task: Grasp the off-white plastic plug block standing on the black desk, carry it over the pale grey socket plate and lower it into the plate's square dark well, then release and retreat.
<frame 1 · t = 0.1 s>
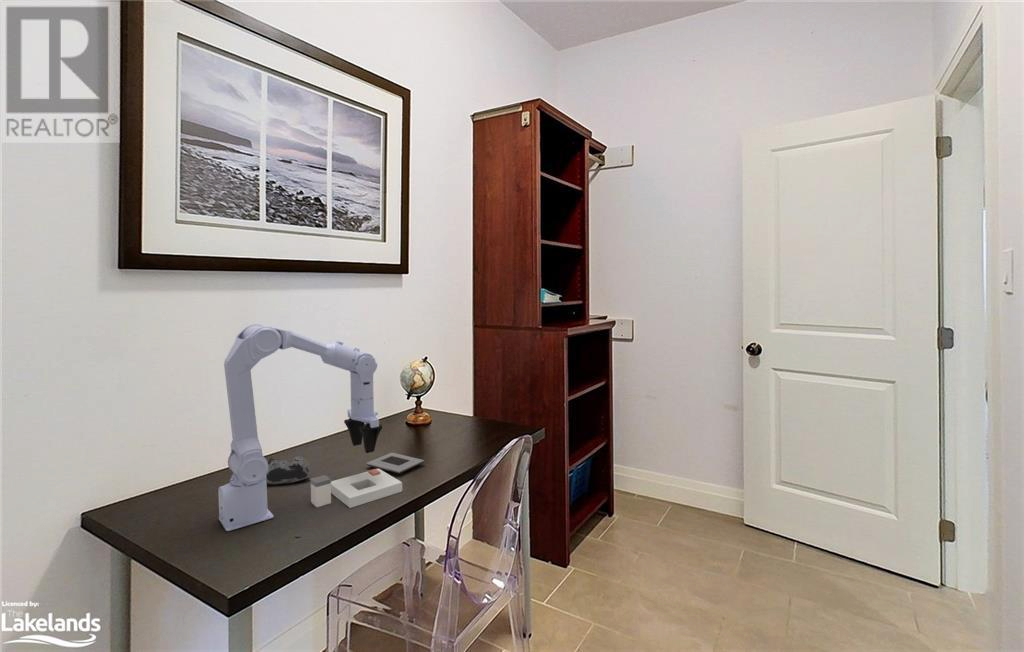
hand: (363, 448, 127), 10 cm above the table, fingers open, 7 cm apart
electrical outlet: (395, 469, 141), on the table
plug: (321, 502, 117), on the table
socket plate: (365, 491, 124), on the table
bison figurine: (288, 479, 132), on the table
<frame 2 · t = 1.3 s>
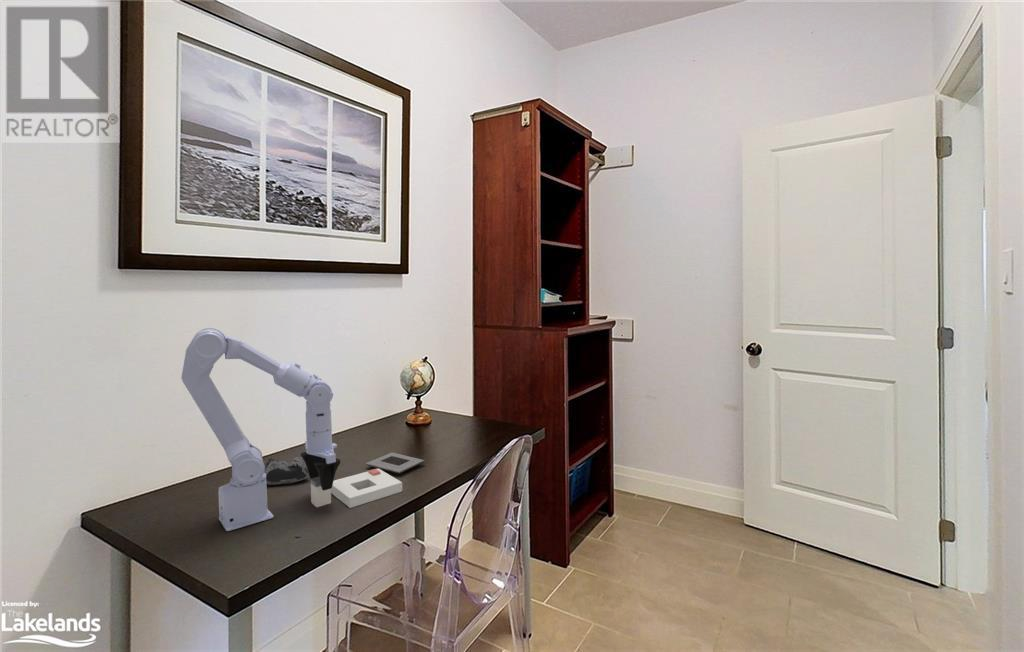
hand: (321, 484, 117), 5 cm above the table, fingers open, 7 cm apart
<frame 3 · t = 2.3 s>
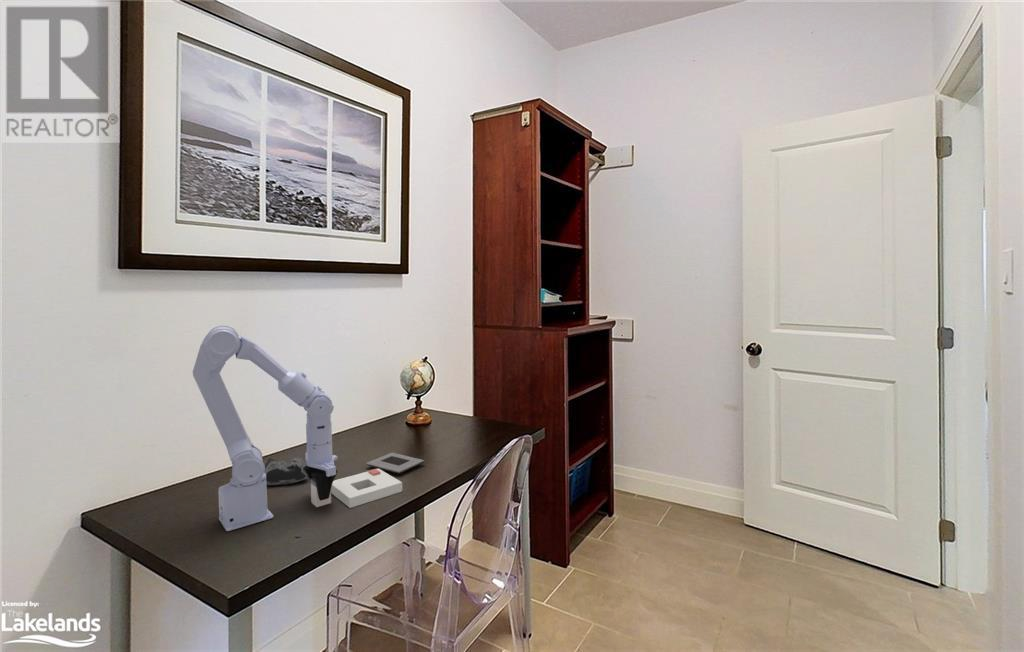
hand: (321, 496, 117), 2 cm above the table, fingers closed on plug, 3 cm apart
plug: (321, 502, 117), on the table, touching gripper
everything else where it was.
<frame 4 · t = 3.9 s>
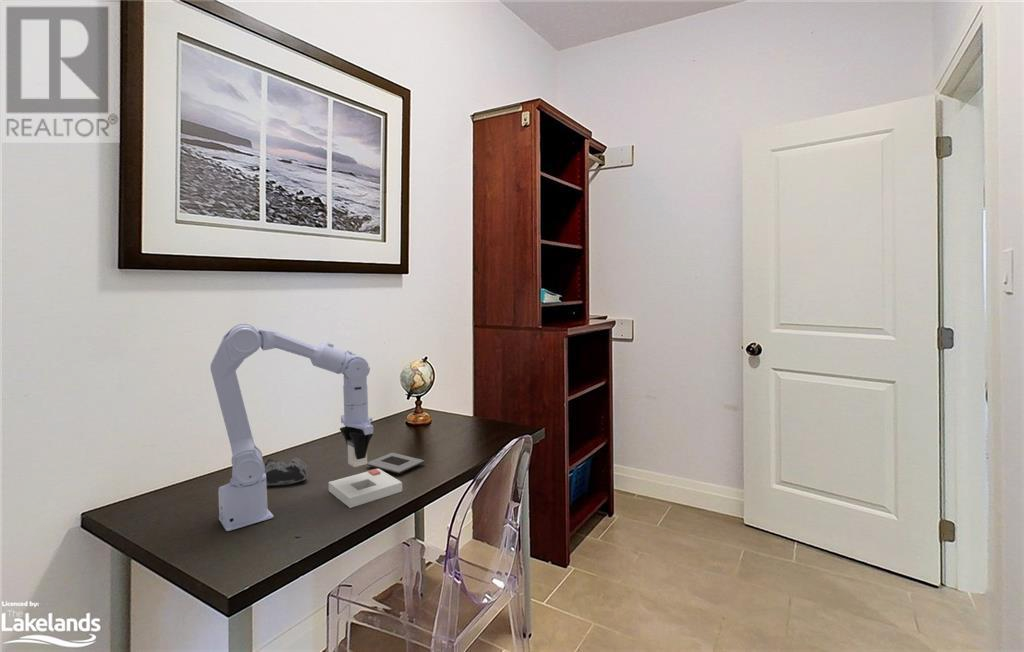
hand: (357, 456, 121), 10 cm above the table, fingers closed on plug, 3 cm apart
plug: (357, 463, 121), point 8 cm above the table, touching gripper
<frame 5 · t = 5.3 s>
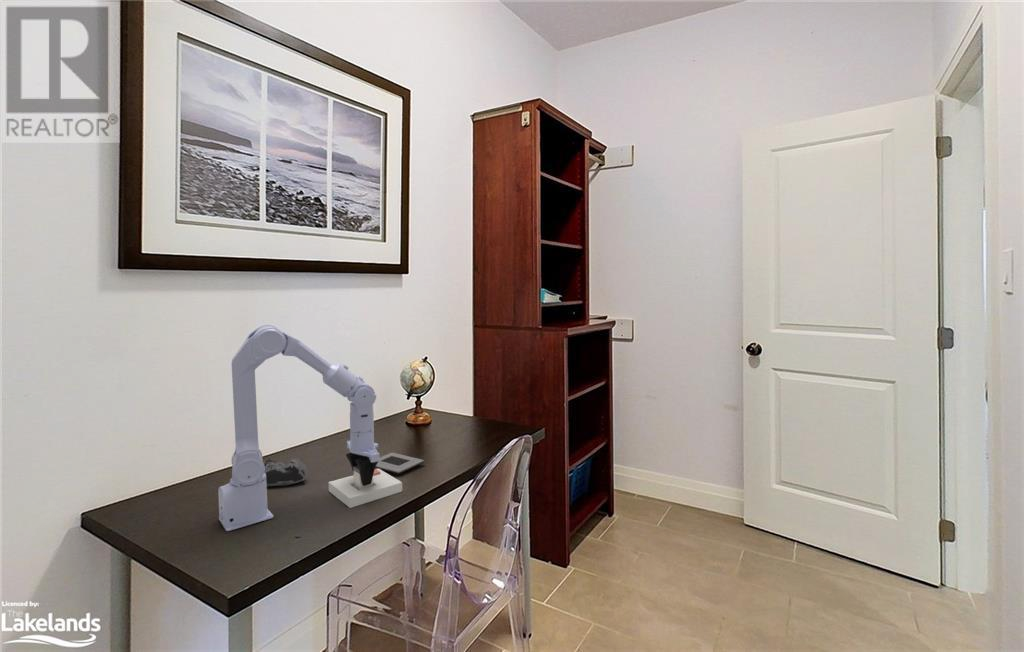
hand: (363, 482, 122), 3 cm above the table, fingers closed on plug, 3 cm apart
plug: (363, 489, 122), point 1 cm above the table, touching gripper
when the fingers open (3 cm above the table, at t = 5.4 s): plug stays where it is, resting on socket plate.
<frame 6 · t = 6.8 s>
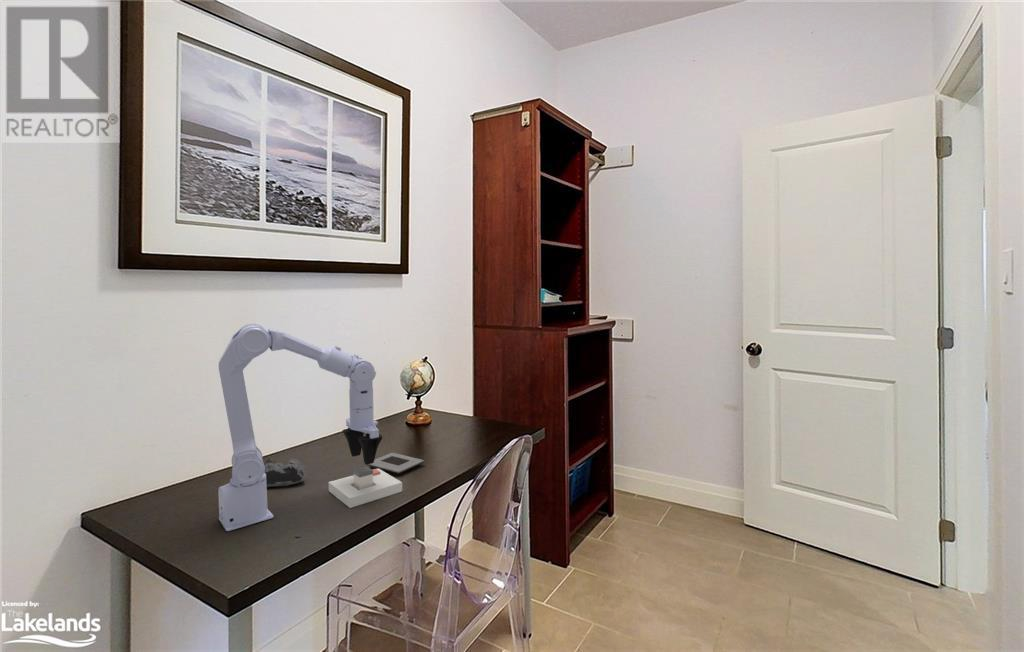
hand: (362, 459, 122), 9 cm above the table, fingers open, 7 cm apart
plug: (363, 492, 122), resting on socket plate
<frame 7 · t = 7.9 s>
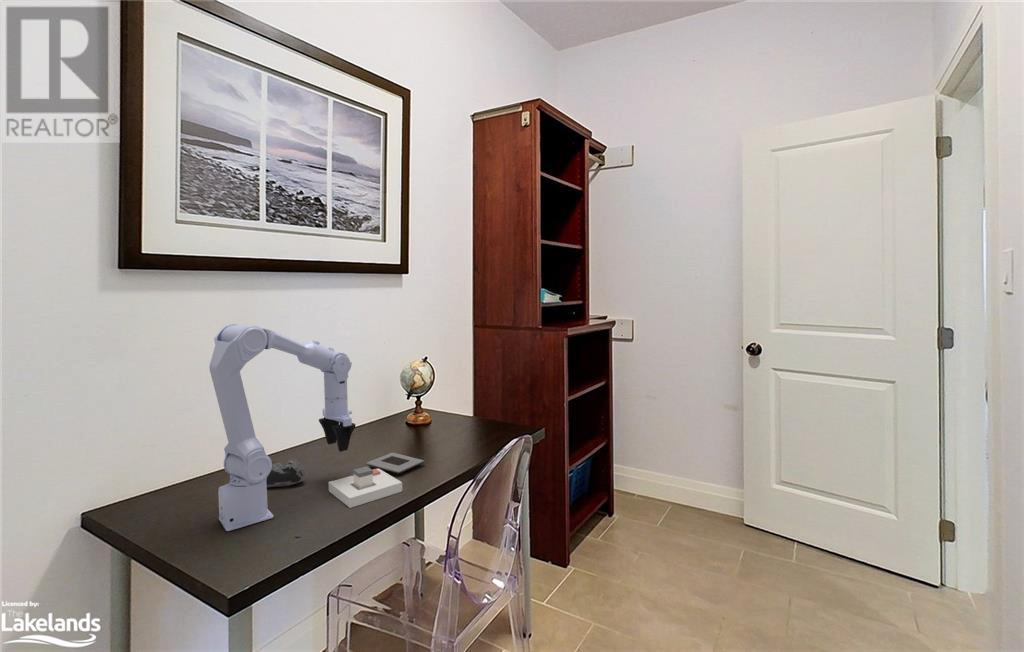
hand: (337, 446, 128), 10 cm above the table, fingers open, 7 cm apart
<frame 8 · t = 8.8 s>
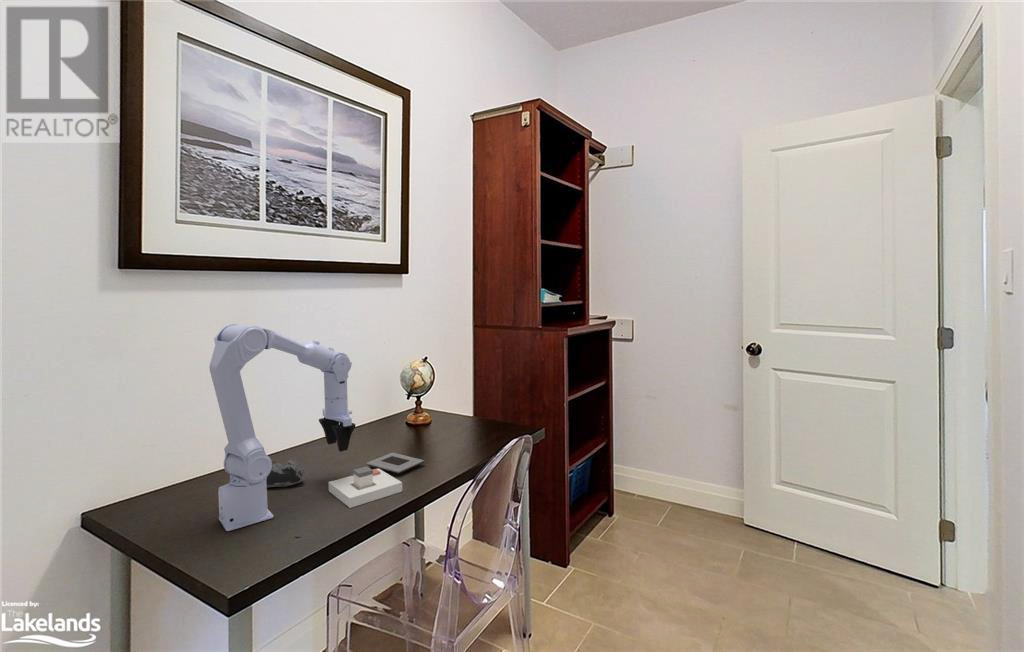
hand: (337, 446, 128), 10 cm above the table, fingers open, 7 cm apart
at the end: plug 0.0 cm from the target spot on the socket plate, point 0.2 cm above the socket plate's base; plug tilted 0°; the gripper is holding nothing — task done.
